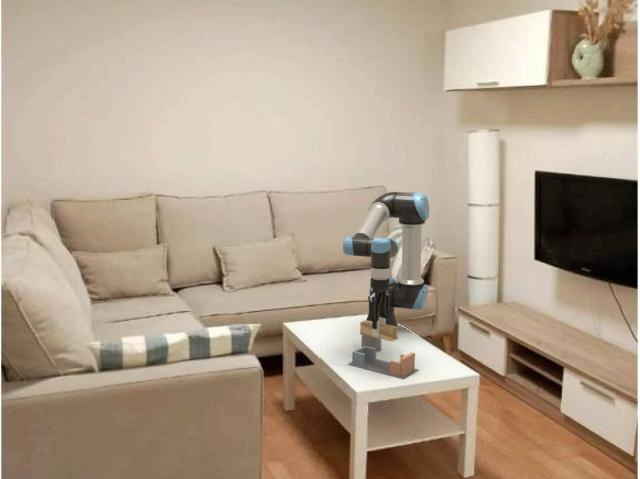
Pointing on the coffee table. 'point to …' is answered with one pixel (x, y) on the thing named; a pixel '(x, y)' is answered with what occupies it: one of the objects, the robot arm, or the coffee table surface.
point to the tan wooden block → (384, 331)
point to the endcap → (403, 365)
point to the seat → (373, 362)
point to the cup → (371, 342)
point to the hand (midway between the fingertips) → (378, 334)
